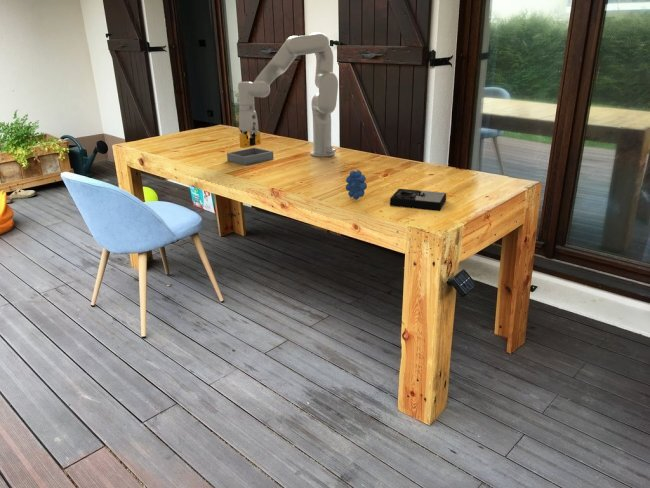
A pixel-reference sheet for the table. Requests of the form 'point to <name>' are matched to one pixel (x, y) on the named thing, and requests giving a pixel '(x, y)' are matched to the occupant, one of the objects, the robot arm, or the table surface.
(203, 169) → the table surface
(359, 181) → the grapes
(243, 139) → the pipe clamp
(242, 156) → the tray
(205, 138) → the table surface
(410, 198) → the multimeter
